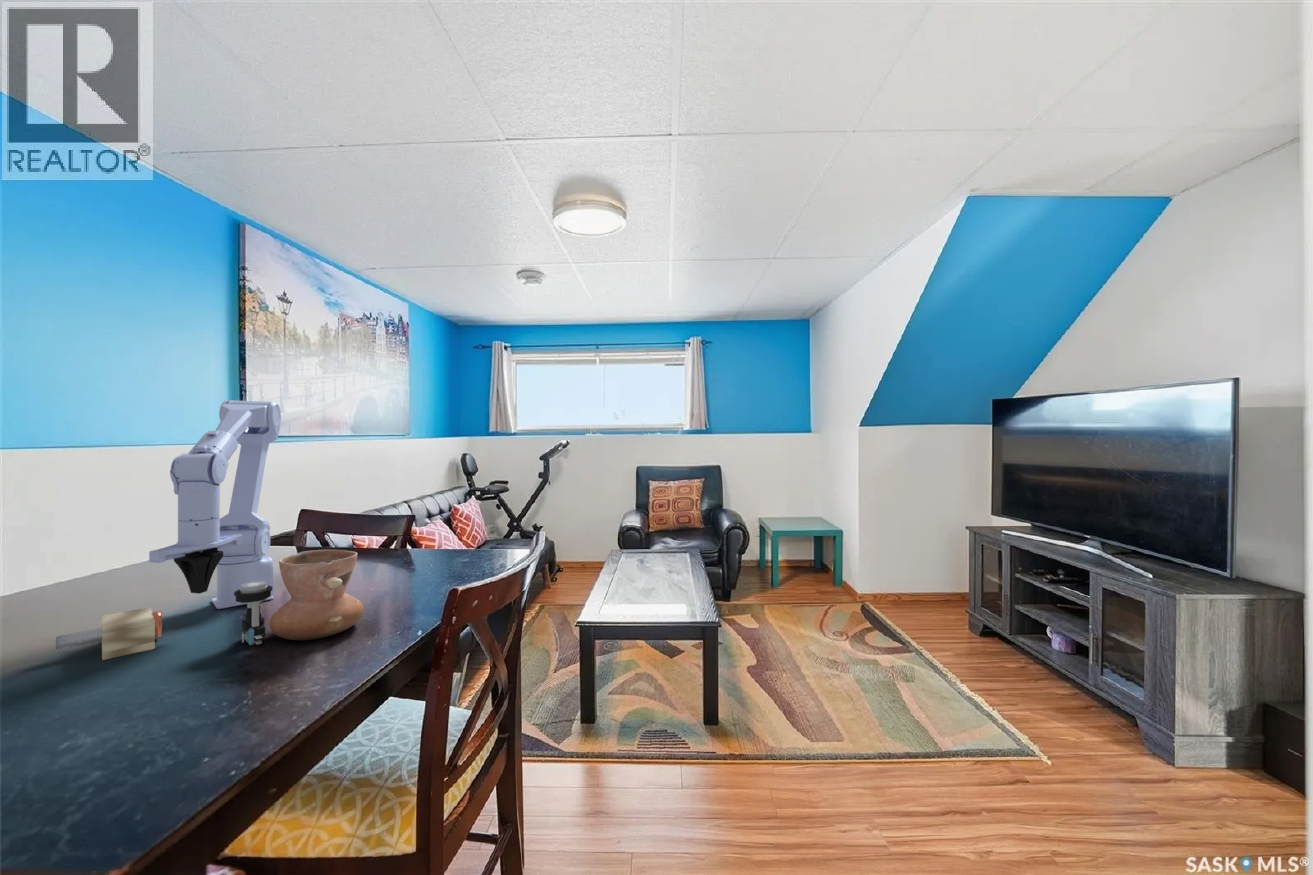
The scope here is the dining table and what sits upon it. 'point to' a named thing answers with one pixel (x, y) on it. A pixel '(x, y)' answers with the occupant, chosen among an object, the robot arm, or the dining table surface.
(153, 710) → the dining table surface
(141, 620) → the hitch block
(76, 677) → the dining table surface
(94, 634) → the pin
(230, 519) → the robot arm
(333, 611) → the ceramic jug
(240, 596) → the push button
